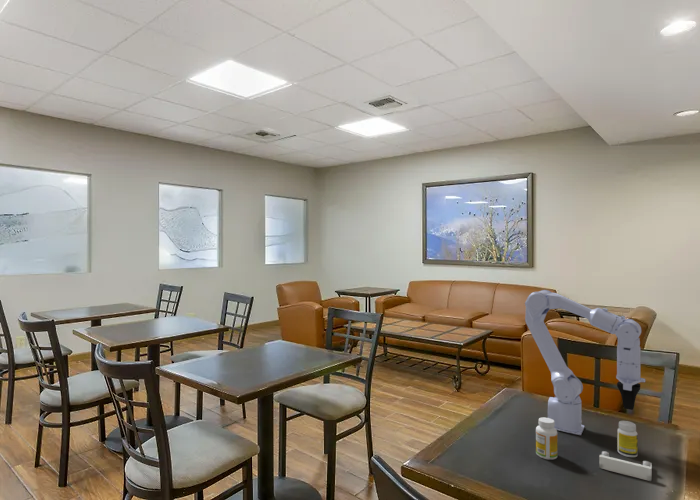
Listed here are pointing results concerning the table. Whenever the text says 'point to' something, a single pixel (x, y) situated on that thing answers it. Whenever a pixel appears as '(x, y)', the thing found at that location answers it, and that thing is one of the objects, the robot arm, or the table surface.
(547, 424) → the supplement bottle
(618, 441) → the supplement bottle
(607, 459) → the drawer handle
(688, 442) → the table surface
